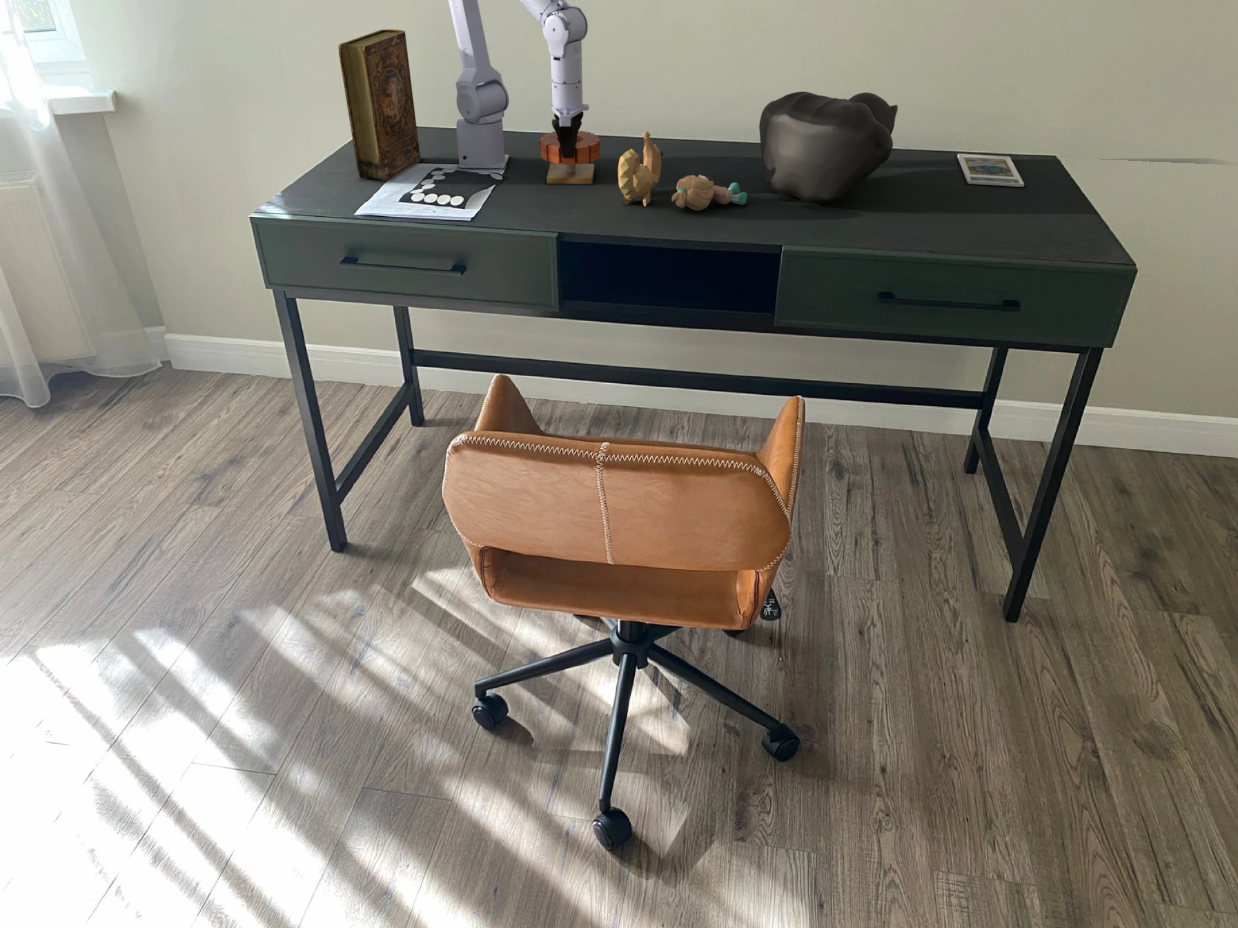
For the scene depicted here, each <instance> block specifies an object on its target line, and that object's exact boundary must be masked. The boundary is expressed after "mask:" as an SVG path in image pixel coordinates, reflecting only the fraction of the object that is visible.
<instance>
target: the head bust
mask: <svg viewBox="0 0 1238 928" xmlns="http://www.w3.org/2000/svg"><path fill="white" fill-rule="evenodd" d="M898 106H899V105H898V104H893V105H890V104H889V103H888V102H887V101H886V99H884V98H883V97H881V96H879V95H877V94H875V93H873V92H859V93H856V94H854V95H853V96H851V97H850V98H838V97H831V96H825V95H820V94H816V93H812V92H810V91H796V92H791V93H788V94H785V95H783V96H781V97H779V98H777V99H775V100H771V101H770V102H768V103H767V104H766V105H765V106H764V108H763V110H762V111H761V115H760V119H759V124H758V129H759V143H760V153H761V166H762V177H763V181H764V183H765V184H766V185H767V186H768V187H769V188H770V189H771V190H772V191H774V192H776V193H777V194H779V195H781V196H784V197H788V198H793V197H794V198H797V199H799V200H801V201H802V202H805V203H809V204H814V205H828V204H831V203H832V204H833V203H836V202H839V201H841V200H842V199H844V198H846V197H847V196H849V195H850V194H852V193H853V192H854V191H855V190H856V189H857V188H858V187H859V186H860V185H861V184H862V183H863V182H865V181H866V180H867V179H868V177H870V175H872V174H873V173H874V172H875V171H876V170H878V168H880V166H881V165H882V164H884V163H885V162H886V161H888V160H889V159H890V156H891V153H892V150H893V148H894V142H893V141H894V140H893V137H892V134H893V132H894V128H895V123H896V117H897V113H898V110H899V107H898Z"/></svg>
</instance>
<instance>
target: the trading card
mask: <svg viewBox="0 0 1238 928" xmlns="http://www.w3.org/2000/svg"><path fill="white" fill-rule="evenodd" d="M957 159H958V162H959V165H960V166H961V169H962V172H963V174H964V177H965V179H966V183H967V184H969V185H985V186H998V187H999V186H1001V187H1014V188H1015V187H1019V188H1024V186H1025V183H1024V180H1023V179H1022V177H1021V175H1020V173H1019V171H1018V170H1017V167H1016V166H1015V163H1014V162H1013V161H1012V158H1011V157H1010V156H1007V155H1005V156H1004V155H988V154H987V155H986V154H968V153H957Z"/></svg>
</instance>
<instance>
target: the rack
mask: <svg viewBox="0 0 1238 928" xmlns="http://www.w3.org/2000/svg"><path fill="white" fill-rule="evenodd" d="M594 173H595V163H584V164H576V163H575V165H562V163H560V164H556V163H552V162H550V164H549V168H548V172H547V175H546V184H556V185H558V184H559V185H560V184H562V185H566V184H567V185H593V182H594Z"/></svg>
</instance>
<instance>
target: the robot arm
mask: <svg viewBox="0 0 1238 928" xmlns="http://www.w3.org/2000/svg"><path fill="white" fill-rule="evenodd" d="M447 1H448V6H449V10H450V15H451V18H452V19H451V20H452V23H453V28H454V33H455V37H456V42H457V46H458V52H459V56H460V60H461V66H462V70H463V71H462V72H461V73H460V75H459V77H458V79H457V80H456V83H455V86H456V87H455V89H456V108H457V109H458V112H459V114H460V116H461V117H462V118H459V119H457V120H456V128H455V129H456V131H455V132H456V134H455V135H456V145H457V155H458V168H460V169H505V168H506V166H507V163H508V161H509V157H510V156H509V154H505V141H504V139H505V138H504V125H503V118H504V117H505V111H506V110H507V109H508V107H509V104H510V96H509V92H508V90H507V88H506V86H505V84H504V81H503V78H502V74H501V73H500V72H499V71H498V70H497V69H495V68H494V67H493V66H492V65H491V60H490V56H489V55H490V54H489V50H488V45H487V41H486V35H485V30H484V26H483V21H482V15H481V11H480V6H479V1H478V0H447ZM519 2H520V4H521V5H523V7H524V8H525V9H526V10H527V11H528V12H529V14H530V15H532V16H533V17H534V19H535V20H536V21H537V22H538V23H539V25H540V26H541V27H542V34H543V37H544V39H545V41H546V43H547V47H548V53H549V56H550V71H551V73H550V74H551V76H550V77H551V98H552V99H551V111H552V112H553V113H554V114H553V117H554V118H553V119H551V126H552V128H553V130H554V132H556V134H557V137H558V140H559V144H560V149H561V153H562V157H563V158H573V157H574V153H575V146H576V142H577V134H578V132H579V131H580V129H581V127H582V125H583V121H582V120H583V118H584V115H585V114H584V113H585V112H584V111H589V109H590V105H589V104H588V103H583V101H584V99H583V45H582V44H583V42H582V41H583V40H584V39H585V38H586V36H587V35H588V30H589V24H588V19H587V17H586V15H585V13H584V12H583V10H582V8H580V7H578V6H574V5H570V4H569V3H568V2H567V0H519Z"/></svg>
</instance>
